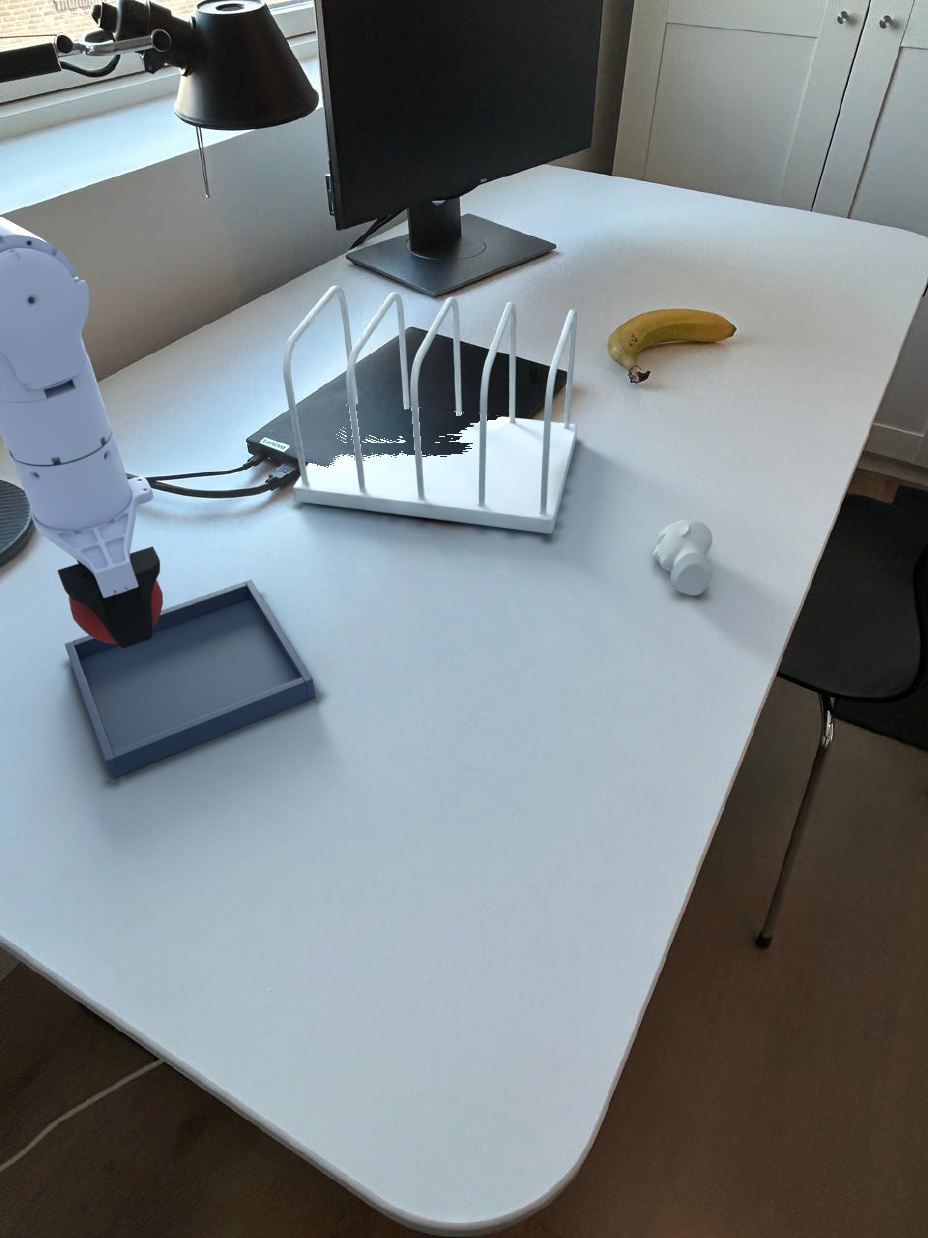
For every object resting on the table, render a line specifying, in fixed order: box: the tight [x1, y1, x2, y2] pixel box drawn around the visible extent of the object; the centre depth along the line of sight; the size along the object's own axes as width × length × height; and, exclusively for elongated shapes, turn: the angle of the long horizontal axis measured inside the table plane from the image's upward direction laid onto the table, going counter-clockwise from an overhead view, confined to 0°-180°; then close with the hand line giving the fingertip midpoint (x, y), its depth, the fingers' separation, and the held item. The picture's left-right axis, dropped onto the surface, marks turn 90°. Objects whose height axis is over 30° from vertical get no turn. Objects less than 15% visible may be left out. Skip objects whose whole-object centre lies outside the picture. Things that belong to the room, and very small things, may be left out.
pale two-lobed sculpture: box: [652, 518, 713, 596], centre depth 76 cm, size 4×8×5 cm
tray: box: [64, 579, 317, 779], centre depth 67 cm, size 15×13×2 cm
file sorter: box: [282, 285, 578, 535], centre depth 83 cm, size 25×17×16 cm
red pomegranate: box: [68, 578, 164, 644], centre depth 59 cm, size 6×6×8 cm
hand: (123, 612), depth 60 cm, fingers closed on red pomegranate, 6 cm apart
